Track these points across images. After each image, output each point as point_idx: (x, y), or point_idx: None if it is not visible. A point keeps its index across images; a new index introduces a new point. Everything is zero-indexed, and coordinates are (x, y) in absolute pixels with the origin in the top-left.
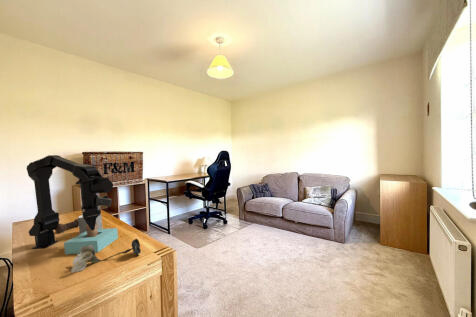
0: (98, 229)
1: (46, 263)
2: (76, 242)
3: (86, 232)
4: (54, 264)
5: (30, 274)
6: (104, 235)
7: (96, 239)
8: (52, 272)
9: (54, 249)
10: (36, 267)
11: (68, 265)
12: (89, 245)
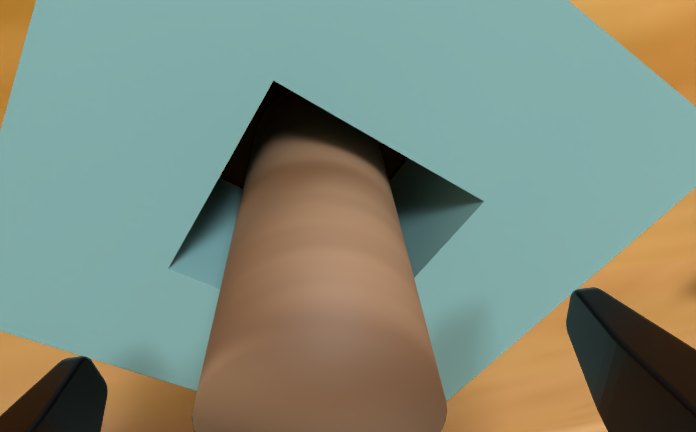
0: (11, 174)
1: (465, 401)
2: (487, 359)
3: (107, 324)
4: (542, 360)
5: (579, 427)
6: (580, 34)
7: (674, 158)
8: (692, 343)
9: (168, 421)
10: (486, 428)
11: (678, 280)
12: None
